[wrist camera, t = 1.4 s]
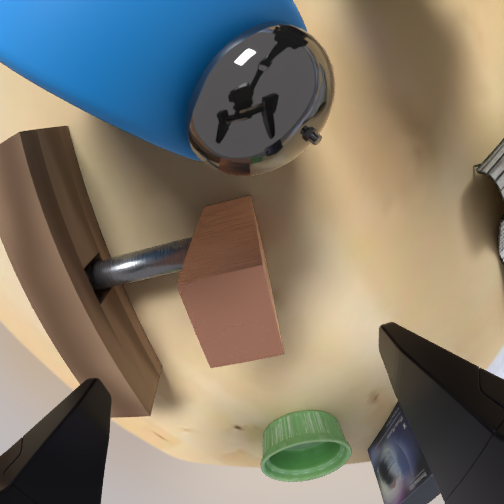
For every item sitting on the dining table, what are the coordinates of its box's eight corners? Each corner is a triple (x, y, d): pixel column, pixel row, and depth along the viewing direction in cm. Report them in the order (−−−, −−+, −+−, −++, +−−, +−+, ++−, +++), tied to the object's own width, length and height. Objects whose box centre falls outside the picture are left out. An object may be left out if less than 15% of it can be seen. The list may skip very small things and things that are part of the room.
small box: (395, 398, 29) (430, 476, 19) (441, 391, 29) (479, 458, 20) (364, 451, 33) (384, 517, 23) (406, 443, 33) (430, 503, 24)
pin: (250, 195, 20) (262, 264, 11) (264, 253, 21) (284, 353, 12) (41, 254, 21) (-36, 328, 11) (62, 299, 22) (0, 383, 13)
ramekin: (329, 448, 32) (336, 477, 28) (254, 451, 31) (256, 483, 27) (352, 402, 28) (364, 435, 24) (263, 405, 28) (267, 442, 24)
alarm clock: (126, -20, 14) (313, 96, 17) (70, 52, 15) (248, 174, 19) (22, -118, 1) (430, 51, 5) (-80, 18, 3) (252, 263, 7)
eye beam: (67, 125, 17) (19, 132, 12) (162, 366, 25) (150, 415, 20) (25, 147, 17) (-24, 160, 12) (122, 371, 25) (105, 417, 20)
